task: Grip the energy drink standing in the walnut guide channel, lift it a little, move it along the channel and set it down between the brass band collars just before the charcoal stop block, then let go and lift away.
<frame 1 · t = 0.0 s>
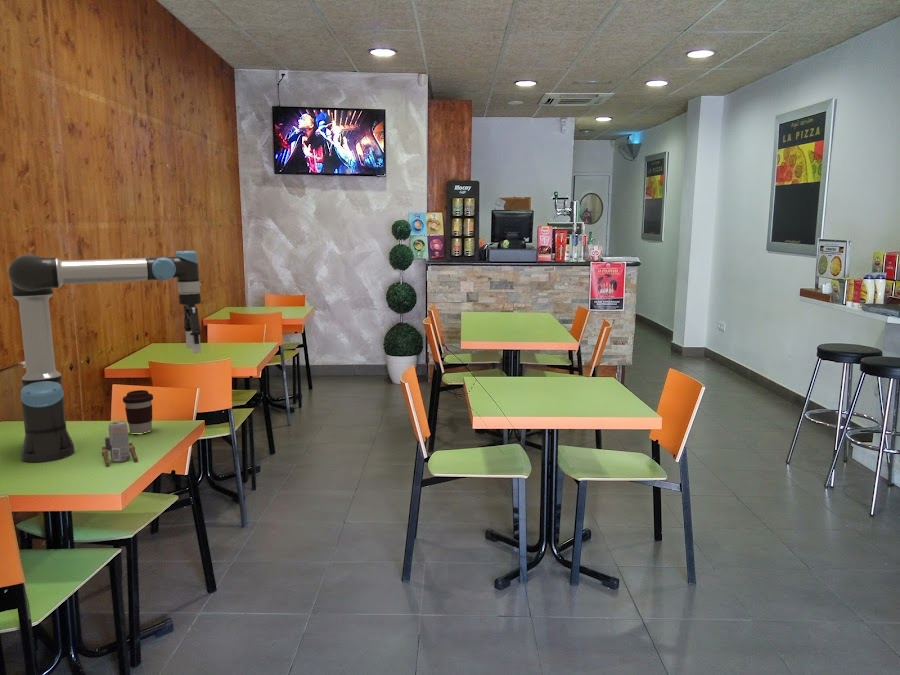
hand: (193, 350, 258), 28 cm above the table, tool pointing down, fingers open, 13 cm apart
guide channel: (119, 455, 224), on the table
stop block: (117, 448, 233), on the table
energy drink: (121, 460, 220), on the table
coffee cup: (141, 433, 252), on the table
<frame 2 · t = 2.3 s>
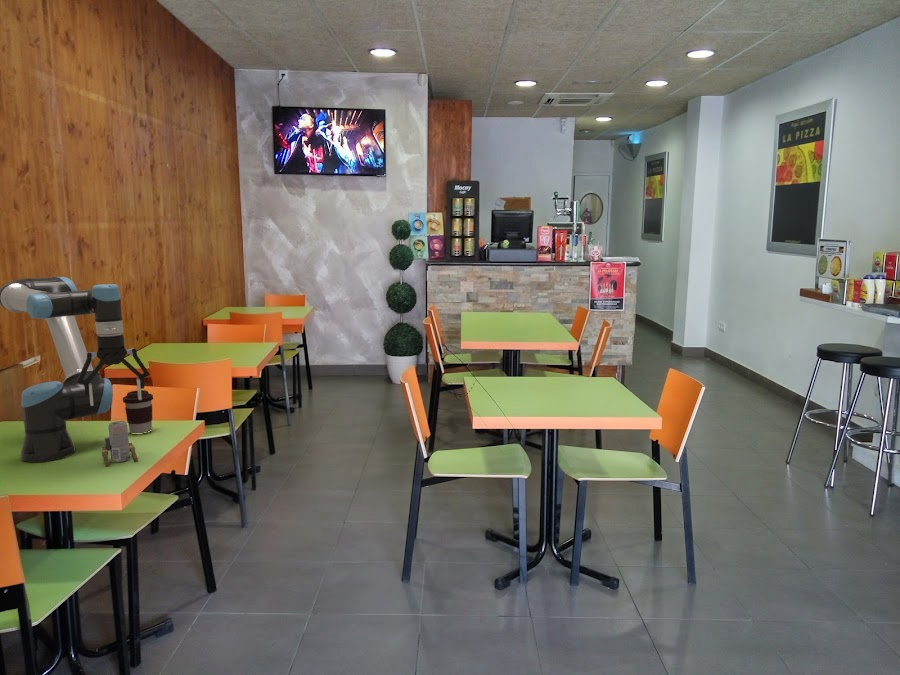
hand: (116, 402, 218), 19 cm above the table, tool pointing down, fingers open, 13 cm apart
nothing on the table moved.
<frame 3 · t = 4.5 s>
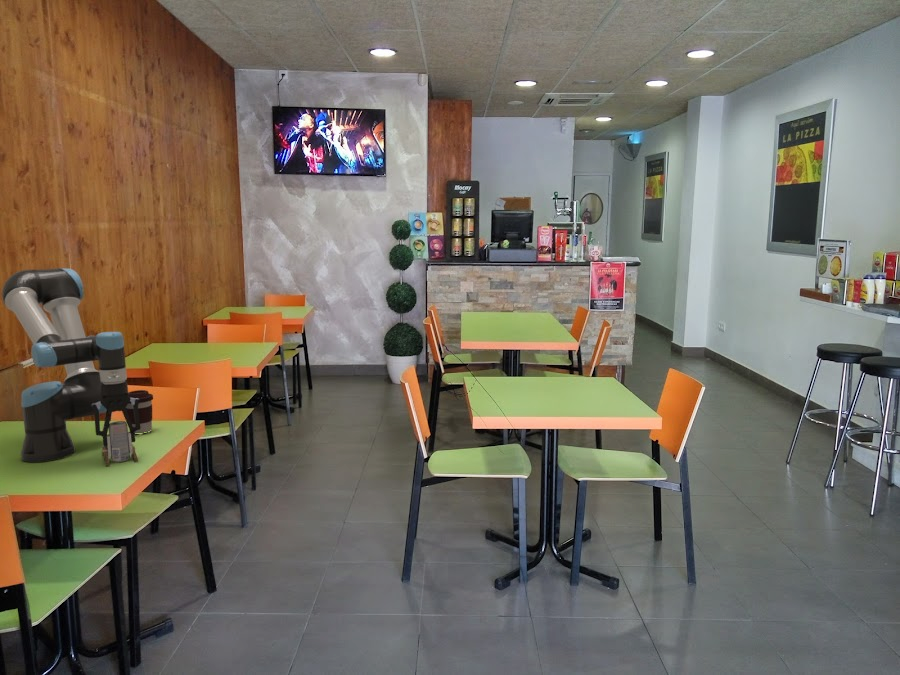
hand: (120, 453, 220), 2 cm above the table, tool pointing down, fingers closed on energy drink, 5 cm apart
energy drink: (121, 460, 220), on the table, touching gripper
everything else where it was.
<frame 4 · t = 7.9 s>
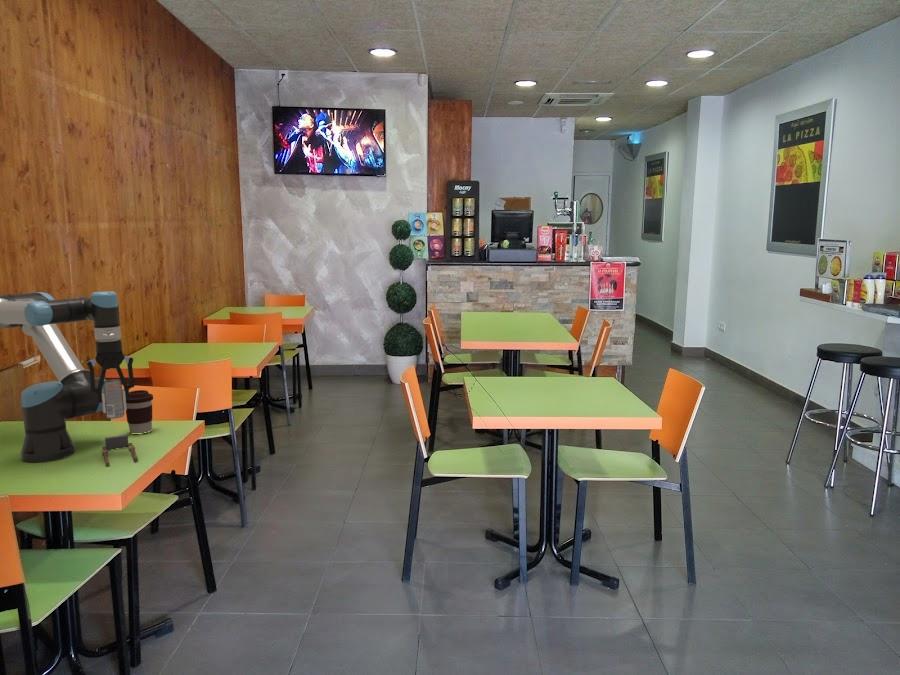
hand: (114, 410, 226), 14 cm above the table, tool pointing down, fingers closed on energy drink, 5 cm apart
energy drink: (115, 417, 226), point 12 cm above the table, touching gripper
everything else where it was.
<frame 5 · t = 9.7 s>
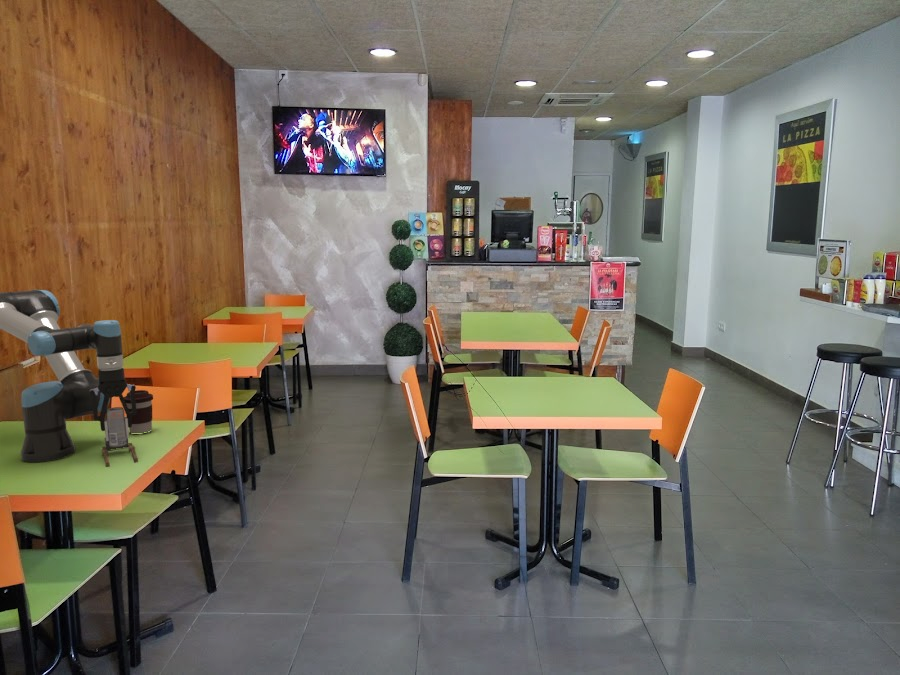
hand: (117, 438, 227), 5 cm above the table, tool pointing down, fingers closed on energy drink, 5 cm apart
energy drink: (118, 445, 228), point 3 cm above the table, touching gripper
everything else where it was.
when the fingers open (3 cm above the table, at t = 11.2 s): energy drink drops 1 cm, on the table.
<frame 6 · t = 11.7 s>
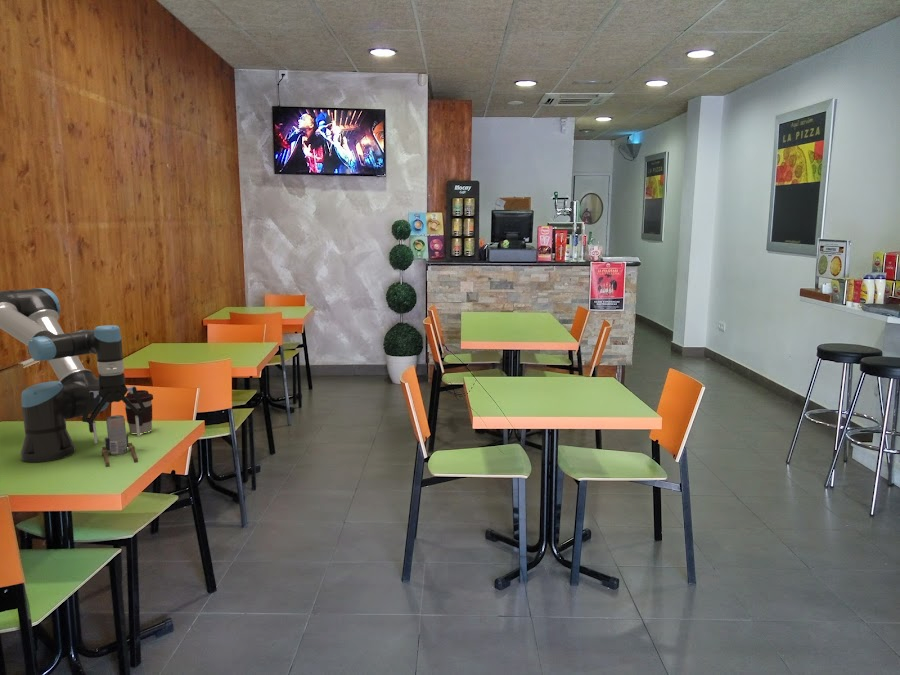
hand: (117, 438, 227), 5 cm above the table, tool pointing down, fingers open, 12 cm apart
energy drink: (118, 453, 228), on the table
everything else where it was.
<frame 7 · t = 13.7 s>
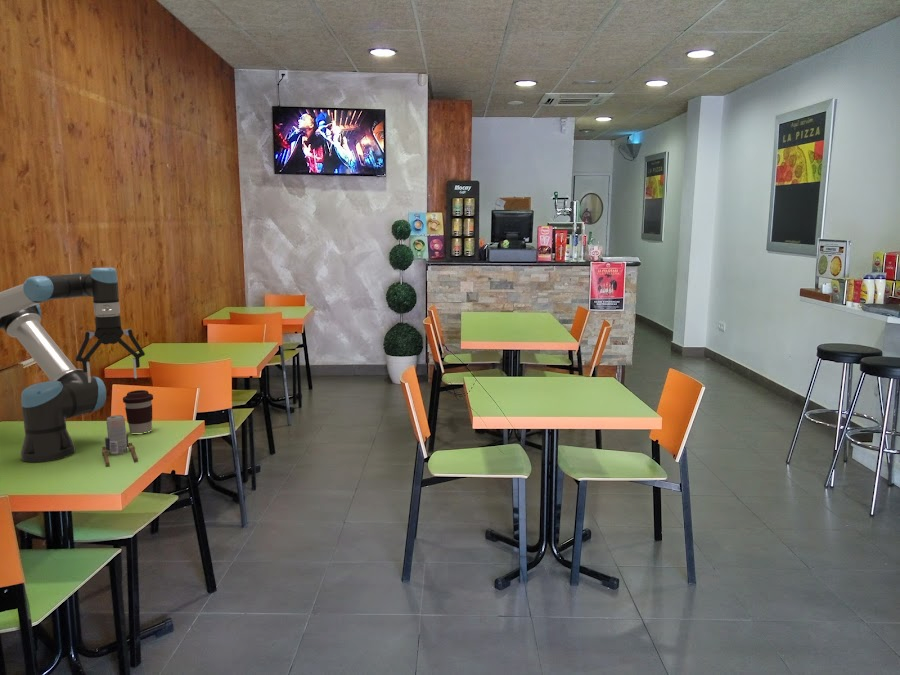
hand: (112, 379, 229), 23 cm above the table, tool pointing down, fingers open, 13 cm apart
nothing on the table moved.
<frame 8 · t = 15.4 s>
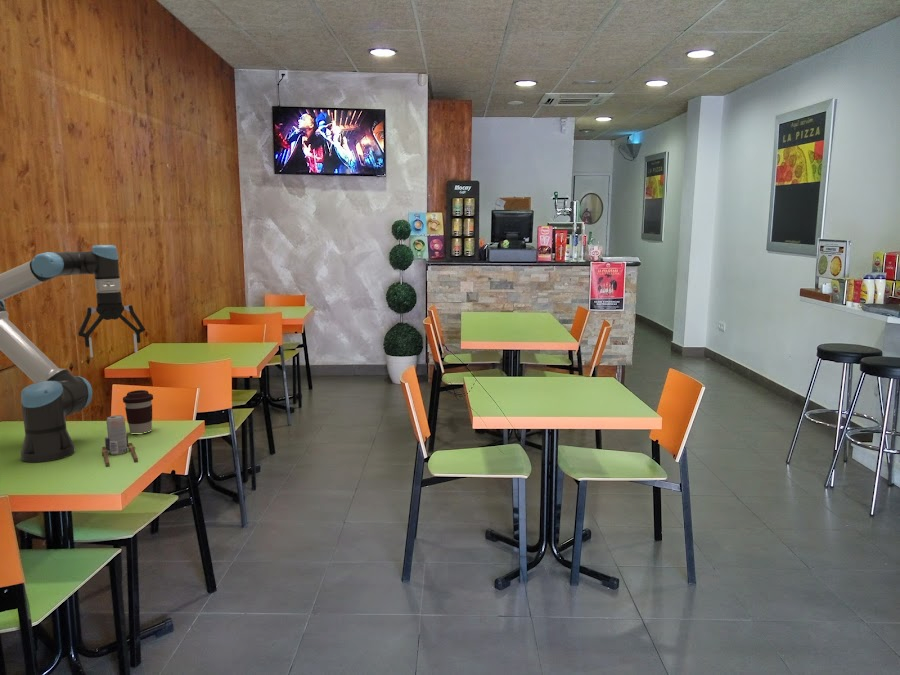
hand: (114, 354, 235), 31 cm above the table, tool pointing down, fingers open, 13 cm apart
nothing on the table moved.
at the end: energy drink 0.0 cm from the target spot, on the table; energy drink tilted 0°; the gripper is holding nothing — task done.
